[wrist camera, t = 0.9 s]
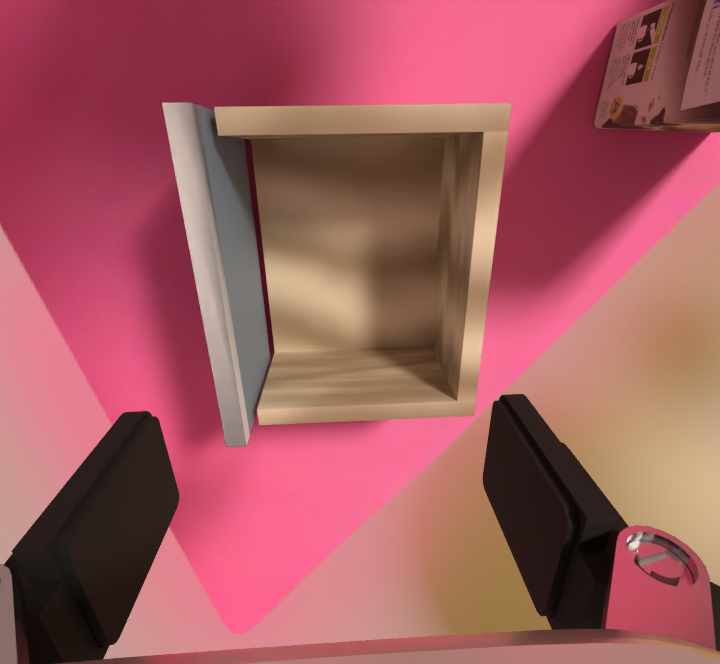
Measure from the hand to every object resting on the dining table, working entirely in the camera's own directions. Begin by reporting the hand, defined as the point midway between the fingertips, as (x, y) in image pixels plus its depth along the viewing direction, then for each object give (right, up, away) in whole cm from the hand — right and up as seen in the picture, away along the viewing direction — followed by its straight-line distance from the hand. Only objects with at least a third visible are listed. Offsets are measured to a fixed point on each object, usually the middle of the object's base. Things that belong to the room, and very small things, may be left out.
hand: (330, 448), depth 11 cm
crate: (+1, +9, +20) cm, 22 cm away
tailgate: (-7, +9, +19) cm, 22 cm away
